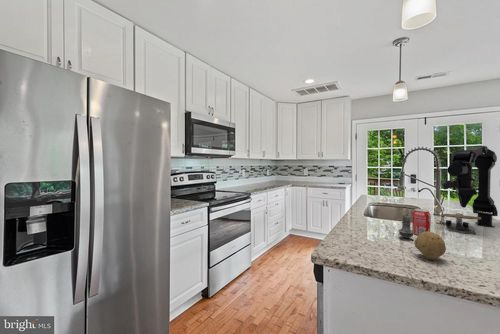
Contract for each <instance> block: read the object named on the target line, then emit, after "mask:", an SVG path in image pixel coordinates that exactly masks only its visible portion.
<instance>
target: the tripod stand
mask: <svg viewBox="0 0 500 334" xmlns="http://www.w3.org/2000/svg"><path fill="white" fill-rule="evenodd" d="M455 219H456V221H455V222H452V220H449V219H447V220H445V222H444V223H445V224H444V226H445V227H446V229H447V230H448V232H453V233H461V234H469V235H473V236H474V235H477V232H476V231H475V230H474V229H473V228H472V227H471V226H470V225H469V222H467V221H466V222H465V221H463V218H455Z"/></svg>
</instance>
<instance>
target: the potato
mask: <svg viewBox="0 0 500 334" xmlns="http://www.w3.org/2000/svg"><path fill="white" fill-rule="evenodd" d="M413 241H414V247H415V248H416V249H417V250H418V251H419V252H420V253H421V254H422V255H423V256H424V257H425V258H427V259H429V261H430V260H431V261H434V260H436V259H438V258H440V257H441V256H444V254H445V253H446V251H447V247H446V242H445V240H444V239H443V237H441V236H440V235H439V234H438V233H435V232H433V231H430V232H429V231H427V232H423V233H421V234H420V235H417V237H415V240H413Z"/></svg>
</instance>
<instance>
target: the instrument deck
mask: <svg viewBox="0 0 500 334" xmlns="http://www.w3.org/2000/svg"><path fill="white" fill-rule="evenodd" d="M441 217H445V218H446V217H448V218H455V219H456V218H461V219H462V220H463V219H464V220H465V219H466V220H477V219H481V217H478V216H472V215H464V213H459V212H457V213H455V214H453V213H443V214H441Z"/></svg>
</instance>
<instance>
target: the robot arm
mask: <svg viewBox="0 0 500 334" xmlns="http://www.w3.org/2000/svg"><path fill="white" fill-rule="evenodd" d="M497 159H498V156H497V154H496V152H495V151H494V150H492V149H489V147H488V146H486V145H475V146H473V147H471V148H467V149H461V150H459V149H458V150H456V151H455V152H453V155H452V158H451V160H450V161H449V162H450V165H449V166H448V167H447V168H446V169H447V173H448V174H449V175H450V176H453V177H454V178H453V180H445V181H443V182H441V183H440V184H441V187H442V189H443V190H448V189H451V190H452V191H453V193H455V194H456V195H457V197H458V200H459V205H460V207H461V208H463V209H464V208H466V207H467V206H468V204H469V202H470V201H471V200H472V198H473V197H474V196H476V198H474V199H473V202H472V206H471V207H472V212H473V214H477V217H481V219H476V220H477V221H476V222H475V225H477V226H479V227H487V228H489V227H490V228H495V225H493V217H498V214H499V213H498V209H497V206H496V205H495V201H494V199H493V198H492V197H491V175H492V172H491V171H492V169H493V168H494V167H495V166H496V163H497ZM473 163H474V166H475V167H476V169H477V170H478V179H477V180H478V183H477V185H478V186H477V188H478V191H477V190H476V189H475V188H474V187H473V186H472V185H473V184H472V183H473V180H474V177H473Z"/></svg>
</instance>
